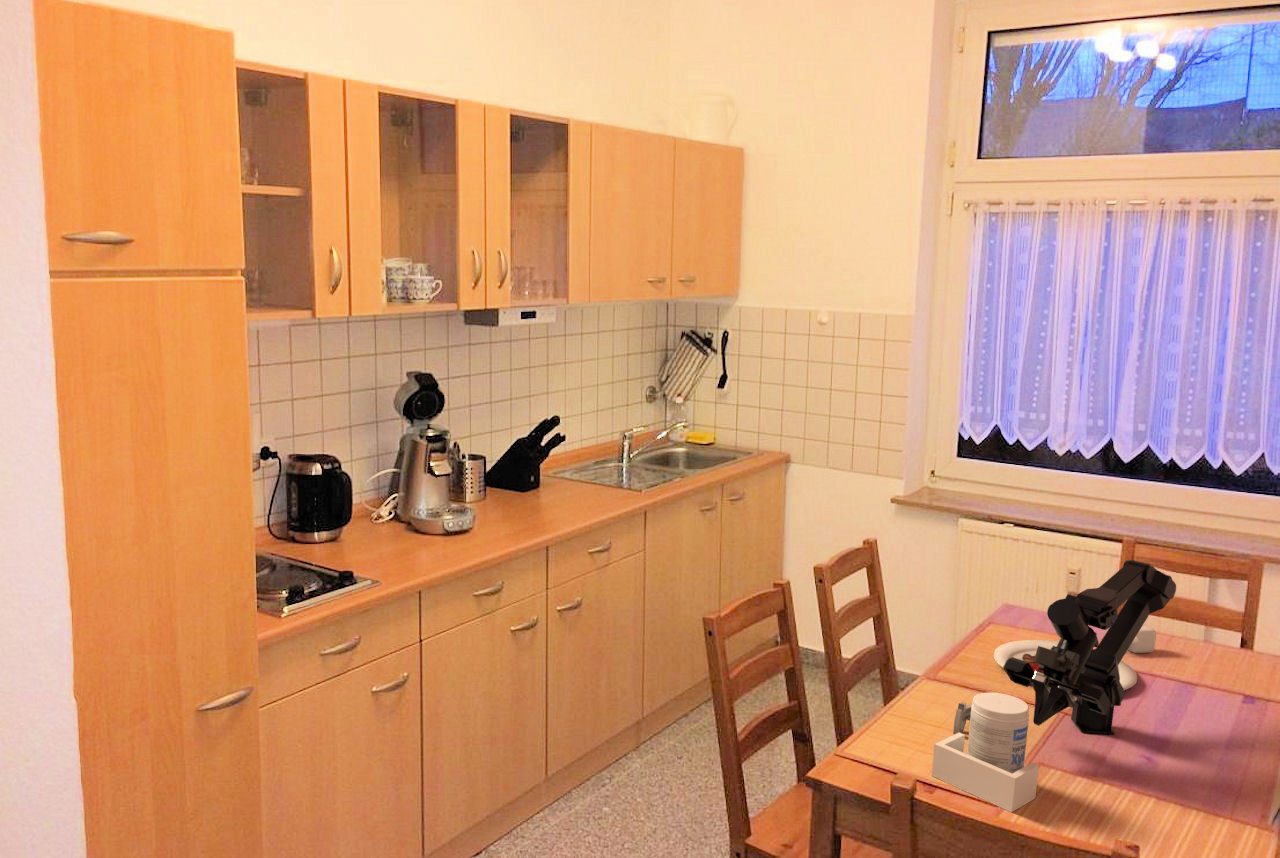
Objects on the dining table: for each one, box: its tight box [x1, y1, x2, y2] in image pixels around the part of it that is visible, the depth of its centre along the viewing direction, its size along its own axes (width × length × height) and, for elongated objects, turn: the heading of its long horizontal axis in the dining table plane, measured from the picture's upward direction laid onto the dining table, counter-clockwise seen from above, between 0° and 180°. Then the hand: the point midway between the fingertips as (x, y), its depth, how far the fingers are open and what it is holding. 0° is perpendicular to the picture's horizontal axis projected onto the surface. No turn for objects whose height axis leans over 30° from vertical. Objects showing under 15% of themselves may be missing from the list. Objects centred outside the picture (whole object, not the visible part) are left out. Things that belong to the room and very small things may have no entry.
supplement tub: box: [966, 692, 1030, 773], centre depth 185 cm, size 10×10×15 cm
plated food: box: [993, 639, 1138, 691], centre depth 238 cm, size 30×30×3 cm
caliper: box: [952, 701, 972, 735], centre depth 211 cm, size 21×1×6 cm, turn 141°
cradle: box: [931, 732, 1040, 813], centre depth 184 cm, size 8×15×6 cm, turn 41°
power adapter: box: [1127, 624, 1157, 654], centre depth 252 cm, size 11×5×6 cm, turn 103°
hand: (1035, 724), depth 194 cm, fingers closed
